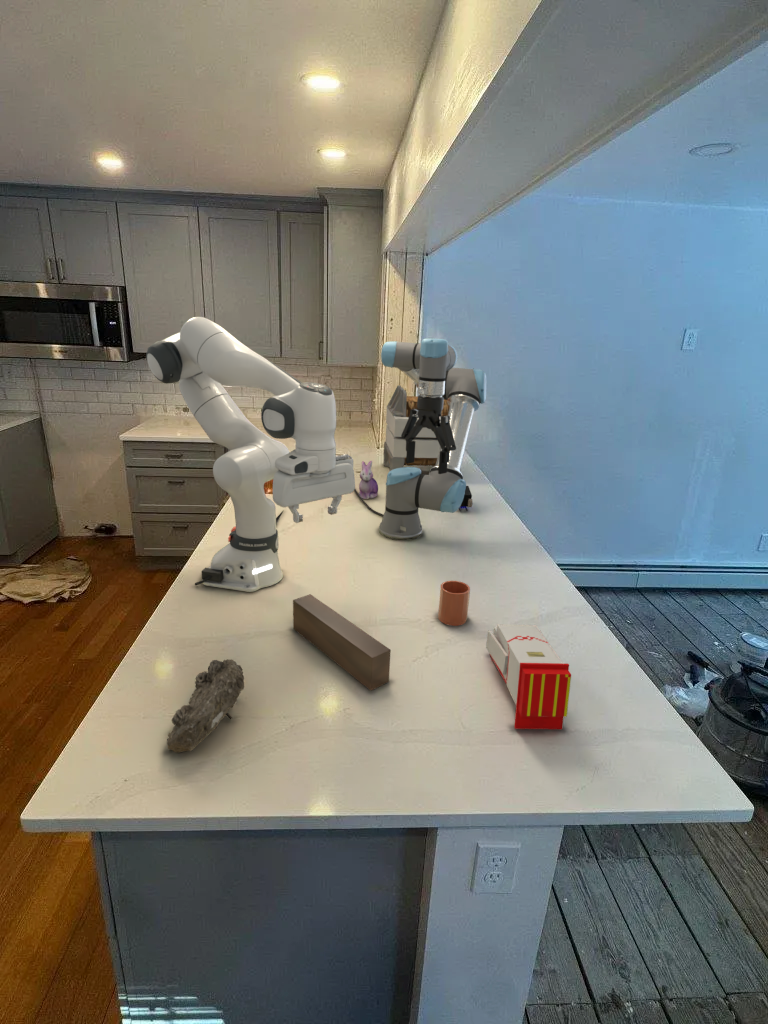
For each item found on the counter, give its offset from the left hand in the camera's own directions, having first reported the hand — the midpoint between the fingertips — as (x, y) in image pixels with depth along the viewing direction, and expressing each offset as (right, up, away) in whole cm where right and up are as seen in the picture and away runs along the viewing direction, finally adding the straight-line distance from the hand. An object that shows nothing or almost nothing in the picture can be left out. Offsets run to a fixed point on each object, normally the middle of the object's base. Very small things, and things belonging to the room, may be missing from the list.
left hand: (315, 517), depth 129 cm
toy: (+45, -36, -8) cm, 58 cm away
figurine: (+9, +8, +109) cm, 109 cm away
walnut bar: (+5, -31, 0) cm, 31 cm away
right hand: (+28, +14, +39) cm, 50 cm away
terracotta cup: (+33, -26, +17) cm, 46 cm away
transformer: (+33, +20, +146) cm, 151 cm away
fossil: (-17, -38, -21) cm, 47 cm away
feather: (-23, 0, +84) cm, 87 cm away
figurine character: (+47, +3, +100) cm, 111 cm away
